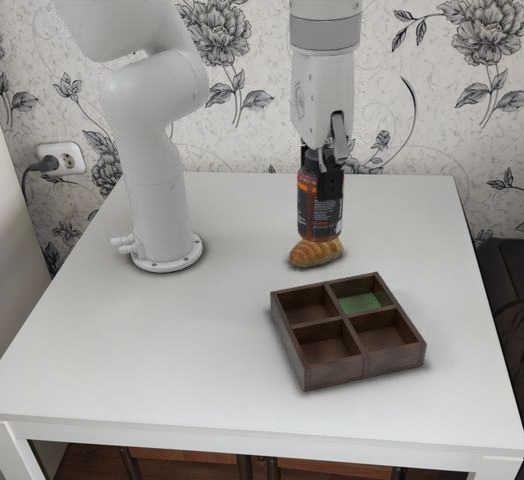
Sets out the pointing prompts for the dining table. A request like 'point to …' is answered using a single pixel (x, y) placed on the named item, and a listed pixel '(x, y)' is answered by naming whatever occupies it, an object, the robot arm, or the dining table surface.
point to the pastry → (315, 252)
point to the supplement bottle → (316, 204)
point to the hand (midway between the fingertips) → (320, 185)
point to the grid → (345, 330)
